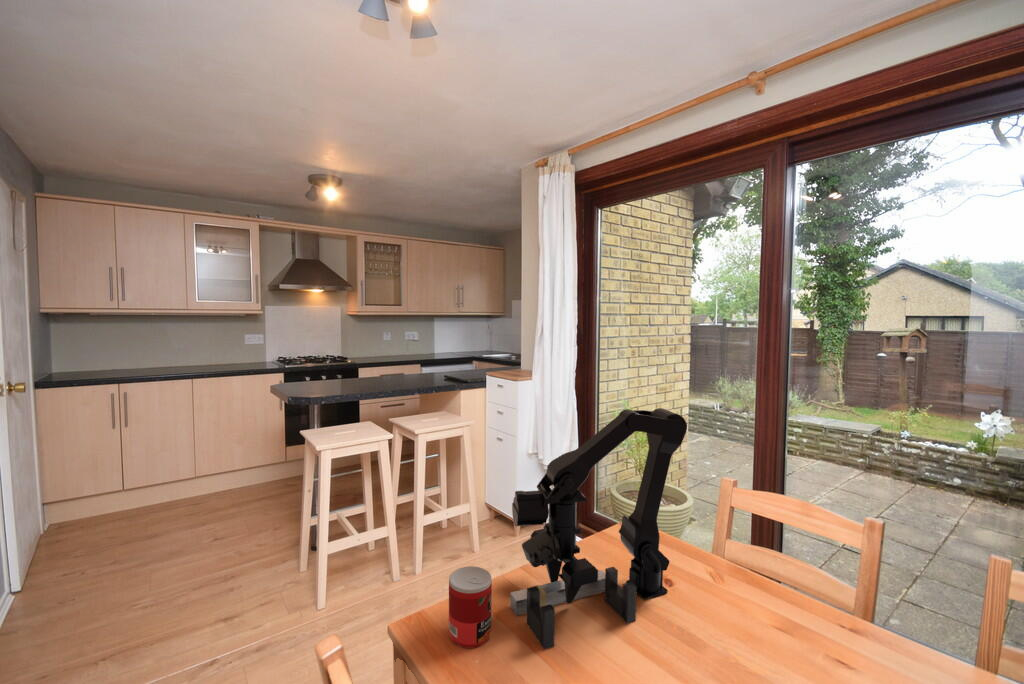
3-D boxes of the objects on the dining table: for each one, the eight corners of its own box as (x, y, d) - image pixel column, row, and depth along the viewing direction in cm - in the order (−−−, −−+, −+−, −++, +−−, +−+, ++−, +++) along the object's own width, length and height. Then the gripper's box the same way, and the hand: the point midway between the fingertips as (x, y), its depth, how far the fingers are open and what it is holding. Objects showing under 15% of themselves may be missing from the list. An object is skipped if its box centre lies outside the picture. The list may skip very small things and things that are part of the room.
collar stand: (612, 598, 95) (613, 566, 95) (635, 621, 88) (636, 586, 88) (526, 623, 88) (526, 588, 87) (544, 649, 81) (544, 611, 80)
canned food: (485, 652, 80) (485, 592, 79) (442, 645, 81) (442, 586, 81) (495, 623, 87) (496, 568, 87) (456, 617, 89) (456, 563, 88)
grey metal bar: (601, 583, 101) (601, 569, 101) (609, 591, 98) (609, 577, 98) (510, 606, 92) (510, 592, 92) (516, 616, 90) (516, 601, 89)
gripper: (509, 509, 100) (508, 578, 101) (548, 550, 83) (547, 632, 84) (554, 502, 104) (553, 567, 105) (600, 539, 87) (598, 617, 88)
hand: (561, 593), depth 95 cm, fingers open, 6 cm apart
